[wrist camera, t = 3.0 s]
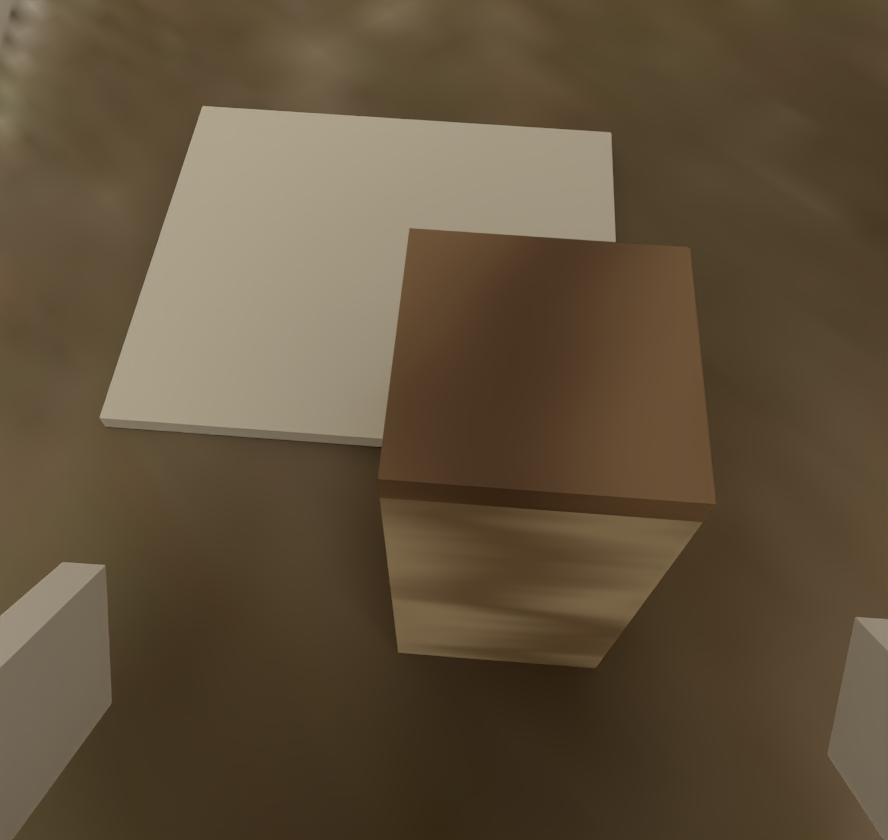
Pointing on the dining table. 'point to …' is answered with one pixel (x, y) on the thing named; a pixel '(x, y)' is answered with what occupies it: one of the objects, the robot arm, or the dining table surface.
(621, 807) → the dining table surface
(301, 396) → the felt mat
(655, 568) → the oak block
